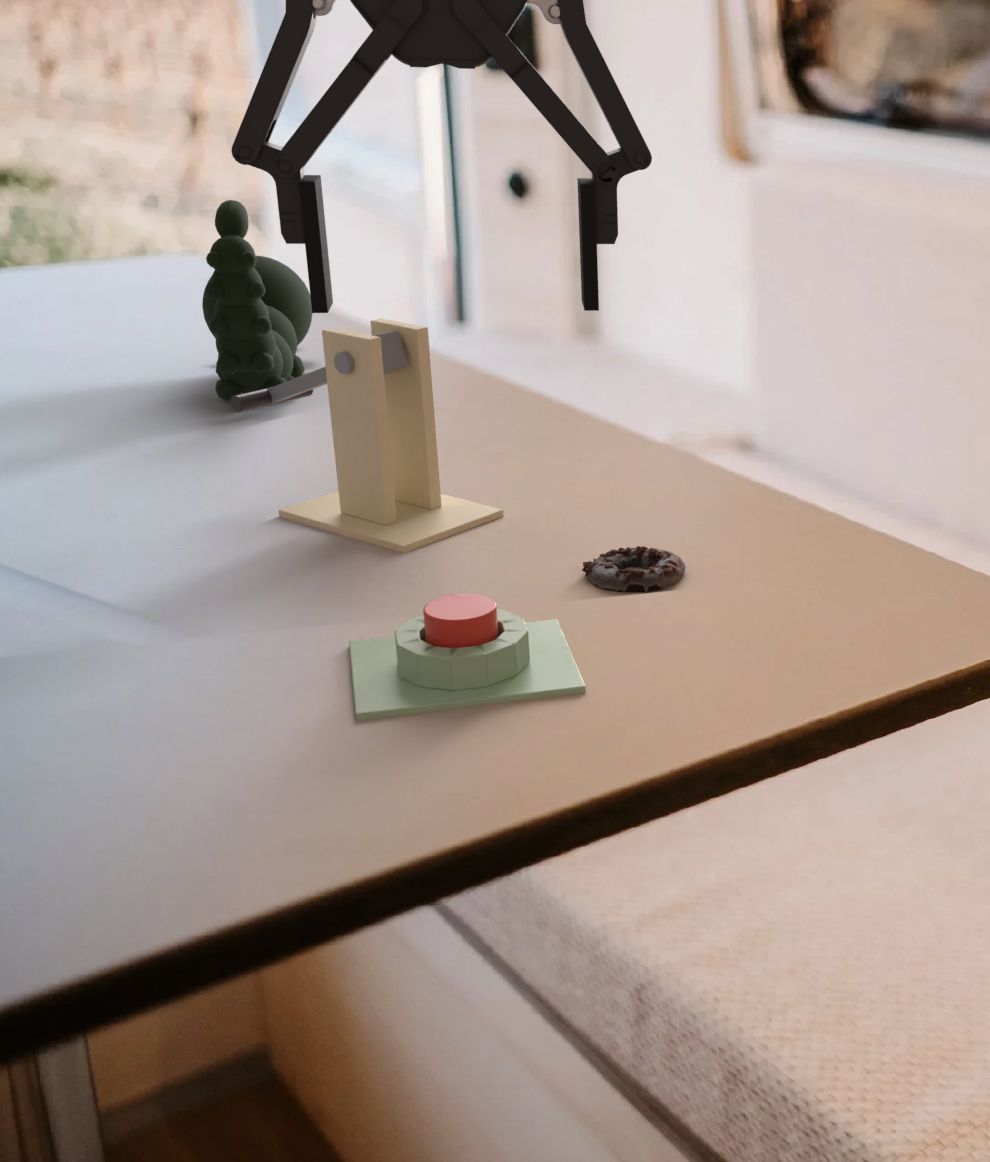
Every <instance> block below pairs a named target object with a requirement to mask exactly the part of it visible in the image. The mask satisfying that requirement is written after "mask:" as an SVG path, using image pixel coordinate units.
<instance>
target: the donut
mask: <svg viewBox="0 0 990 1162" xmlns="http://www.w3.org/2000/svg"><path fill="white" fill-rule="evenodd" d="M628 568H629V569H628ZM633 568H634V569H633ZM635 568H637V569H635ZM638 568H641V569H638ZM581 571H582V572H584V573H585V577H586V578H587V579H588V580H589V582H591V583H592V584H593V585H594V586H595V587H598V588H599V589H603V590H606V591H607V590H612V591H613V592H618V593H651V592H655V591H656V592H657V591H662V590H666V589H668V588H670V587H672V586H675V585H677V584H678V583H679V582H680V581H682V579H683V578H684V575H685V571H686V564H685V562H684V560H683V559H682V558H681V557H680V556H678V555H677V554H675V553H674V552H672V551H669V550H666V549H659V548H655V547H650V548H648V547H647V546H645V545H644V546H643V545H642V546H640V545H637V546H636V547H629V546H628V547H626V548H624V547H619V548H618V549H611V550H608V551H607V552H606V553H600V554H599V556H597V558H593V561H591V560H590V561H583V562H582V569H581Z"/></svg>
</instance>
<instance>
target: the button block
mask: <svg viewBox="0 0 990 1162" xmlns="http://www.w3.org/2000/svg"><path fill="white" fill-rule="evenodd" d="M497 623H498V637H497V639H496V640H493V641H490V642H487V643H485V644H482V645H479V646H470V647H461V648H445V647H436V646H433V645H430V644H428V643H427V642H426V638H425V626H424V614H421V615H418V616H414V617H412V618H409V619H408V620H406V621H405V622H404V623H403V624H402V625H400V626H399V627H398V628H397V629H396V630H394V635H393V636H382V637H374V638H364V639H363V638H362V639H354V640H353V639H352V640H349V641H348V648H349V649H348V650H349V657H350V670H351V671H350V672H351V681H352V682H351V683H352V691H353V704H354V715H355V721H357V722H358V721H364V720H365V721H366V720H374V719H381V718H390V717H398V716H407V715H416V714H423V713H424V714H425V713H431V712H440V711H449V710H456V709H463V708H465V709H466V708H474V707H480V706H481V707H482V706H487V705H488V706H489V705H496V704H497V705H498V704H505V703H513V702H521V701H523V702H524V701H530V700H537V699H545V698H554V697H562V696H564V697H565V696H572V695H579V694H585V693H587V686H586V684H585V682H584V680H583V677H582V675H581V673H580V670H579V667H578V665H577V663H576V660H575V658H574V655H573V654H572V651H571V649H570V646H569V644H568V642H567V639H566V637H565V634H564V632H563V630H562V627H561V625H560V623H559V620H558V619H557V618H555V619H545V620H536V621H525V619H524V618H523V617H522V616H520V615H517V614H515V613H513V612H510V611H507V610H506V609H503V608H497Z"/></svg>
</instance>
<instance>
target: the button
mask: <svg viewBox="0 0 990 1162" xmlns="http://www.w3.org/2000/svg"><path fill="white" fill-rule="evenodd" d="M497 609H498V608H497V603H496V602H495V600H494V599H492V598H491V597H489V596H486V595H482V594H477V593H476V594H475V593H456V594H455V593H453V594H448V595H444V596H440V597H437V598H434V599H432V600H430V601H429V602H427V603H426V604H425V605H424V606H423V611H422V613H423V614H422V615H424V626H425V638H426V642H427V643H428V644H430V645H433V646H436V647H445V648H461V647H470V646H479V645H482V644H485V643H487V642H490V641H493V640H496V639H497V637H498V623H497Z"/></svg>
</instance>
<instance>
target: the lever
mask: <svg viewBox="0 0 990 1162" xmlns="http://www.w3.org/2000/svg"><path fill="white" fill-rule="evenodd" d="M371 335H372V334H371ZM372 336H377V337H380V338H381V349H382V360H383V371H384V375H385V374H388V373H390V372H393V371H396V370H399V369H401V368H404V367H407V366H409V362H408V359H407V356H406V353H405V350H404V348H403V345H402V342H401V339H400V336H399V333H398V331H397V330H396V331H391V332H386V333H381V334H377V335H372ZM325 385H327V376H326V366H323V367H321V368H318V369H316V370H313V371H310V372H307V373H305V374H303V375H302V376H300V377H297V378H295V379H292V380H289V381H287V382H284V383H282V384H279V385H277V386H274V387H270V388H265V389H261V390H257V391H252V392H248V393H241V394H239V395H235V396H232V398H231V401H230V406H231V408H232V410H233V411H234V412H235V413H238V414H239V413H244V412H249V411H252V410H256V409H261V408H265V407H270V406H273V405H277V404H281V403H286V402H290V401H294V400H298V399H302V398H306V397H311V396H312V395H313V392H314V390H315V389H318V388H320V387H322V386H325Z"/></svg>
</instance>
